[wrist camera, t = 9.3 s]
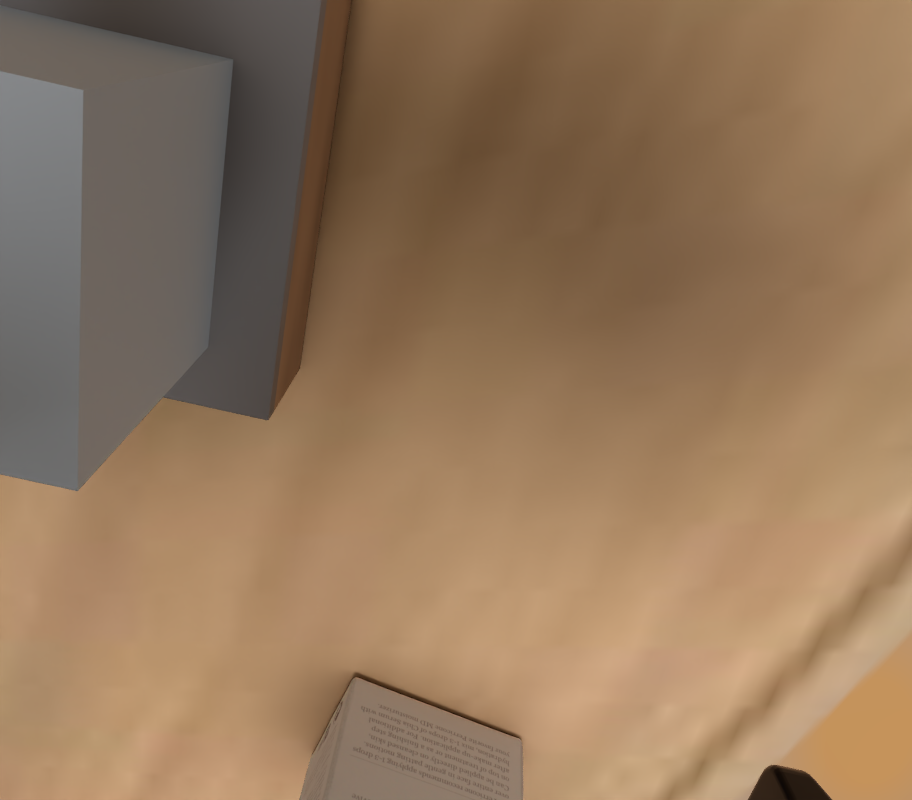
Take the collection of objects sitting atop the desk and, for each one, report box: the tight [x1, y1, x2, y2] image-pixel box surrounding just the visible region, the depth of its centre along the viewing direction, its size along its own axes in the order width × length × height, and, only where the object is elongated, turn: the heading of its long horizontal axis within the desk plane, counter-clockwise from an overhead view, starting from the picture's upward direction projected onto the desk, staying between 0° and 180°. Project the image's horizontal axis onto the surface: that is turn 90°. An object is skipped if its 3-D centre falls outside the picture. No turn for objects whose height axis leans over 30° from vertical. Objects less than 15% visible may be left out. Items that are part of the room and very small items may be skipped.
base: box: [0, 0, 352, 420], centre depth 18 cm, size 9×9×3 cm
